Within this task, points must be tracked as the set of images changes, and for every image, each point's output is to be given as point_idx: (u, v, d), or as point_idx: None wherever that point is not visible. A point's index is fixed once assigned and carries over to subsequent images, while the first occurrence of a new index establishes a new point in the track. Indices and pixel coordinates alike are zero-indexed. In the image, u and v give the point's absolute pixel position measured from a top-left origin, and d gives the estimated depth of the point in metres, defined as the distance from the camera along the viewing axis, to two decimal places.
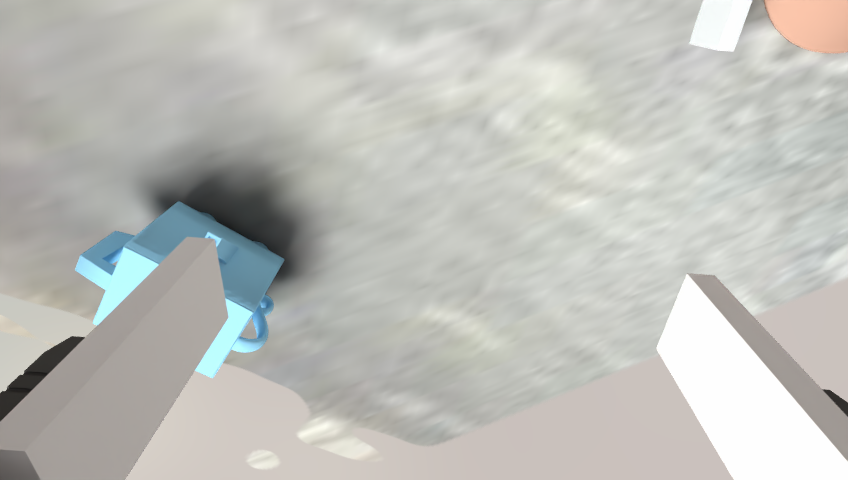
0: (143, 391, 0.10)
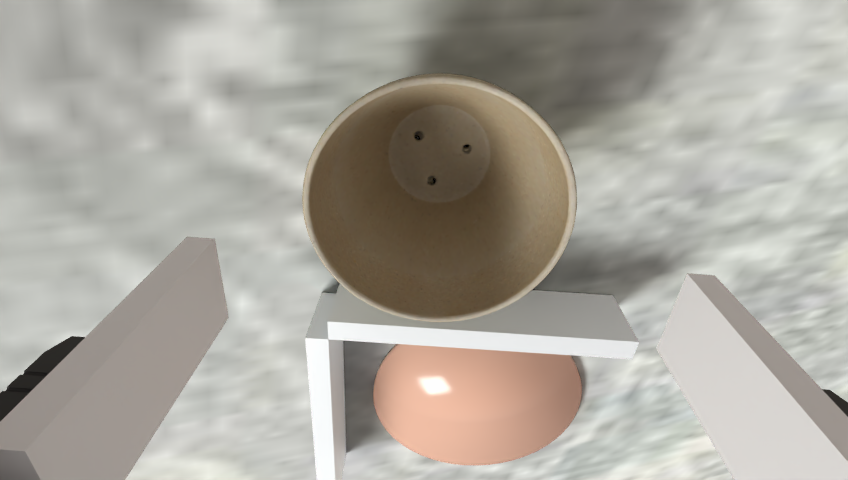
0: (143, 390, 0.10)
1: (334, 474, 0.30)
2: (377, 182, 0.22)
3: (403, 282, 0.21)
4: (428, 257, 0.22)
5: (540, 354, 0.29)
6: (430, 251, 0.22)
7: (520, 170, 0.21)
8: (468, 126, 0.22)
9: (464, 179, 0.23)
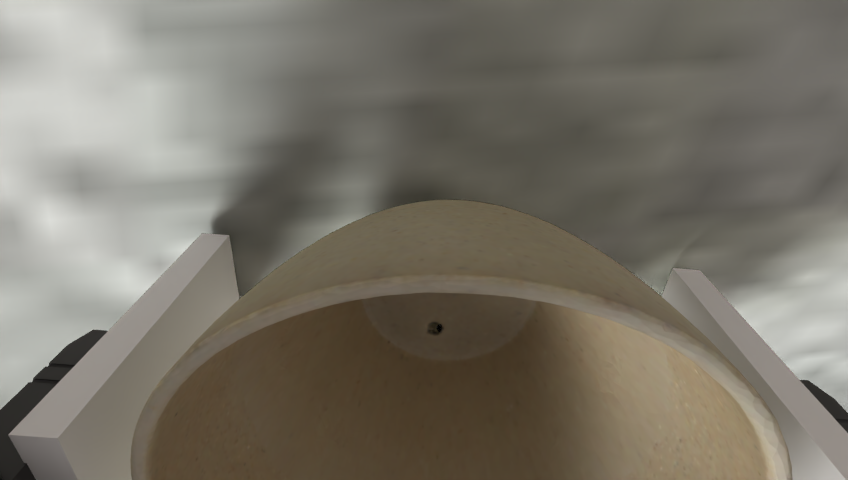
0: None
1: None
2: (340, 343, 0.13)
3: None
4: None
5: None
6: (432, 467, 0.13)
7: (601, 348, 0.11)
8: None
9: (490, 327, 0.14)
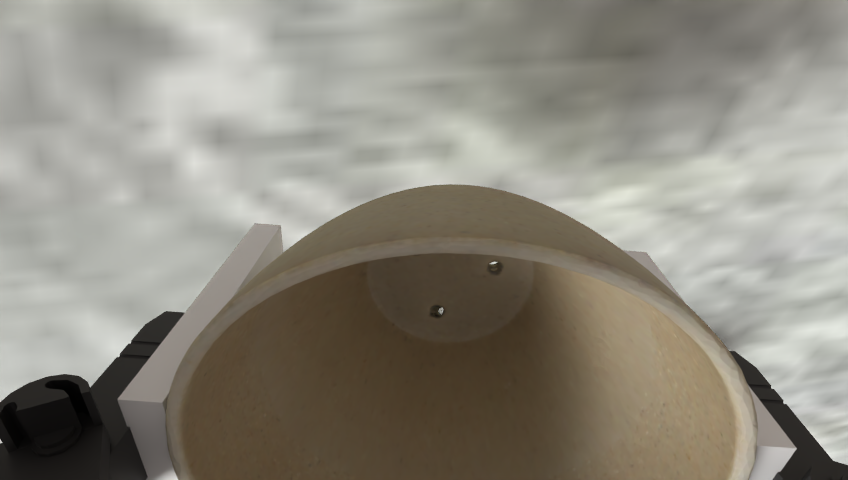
0: None
1: None
2: (348, 324, 0.14)
3: None
4: (431, 454, 0.13)
5: None
6: (434, 440, 0.13)
7: (592, 325, 0.12)
8: None
9: (490, 310, 0.14)
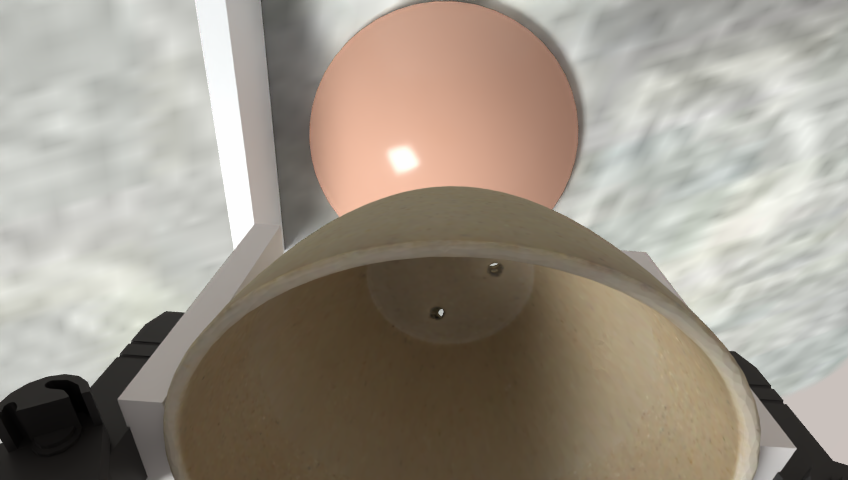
0: None
1: None
2: (347, 326, 0.13)
3: None
4: (431, 456, 0.13)
5: (523, 66, 0.22)
6: (434, 443, 0.13)
7: (593, 327, 0.12)
8: None
9: (490, 312, 0.14)
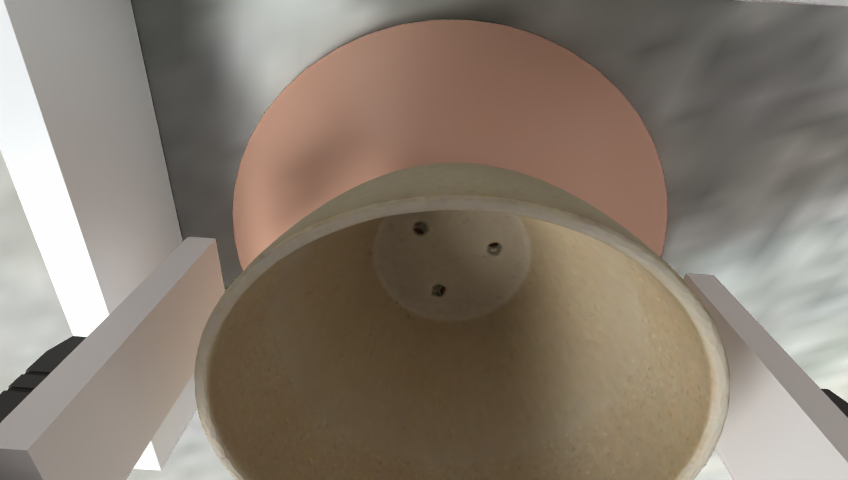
0: (144, 390, 0.10)
1: None
2: (354, 299, 0.14)
3: (389, 478, 0.13)
4: (431, 422, 0.14)
5: (583, 128, 0.13)
6: (435, 410, 0.14)
7: (585, 300, 0.13)
8: (499, 218, 0.14)
9: (489, 290, 0.15)
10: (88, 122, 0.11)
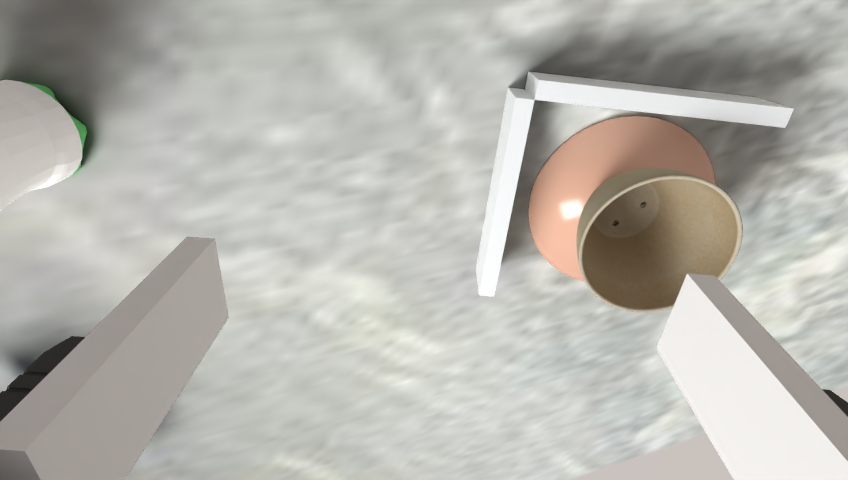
0: (143, 391, 0.10)
1: (501, 257, 0.34)
2: None
3: (610, 287, 0.33)
4: (619, 273, 0.34)
5: (684, 157, 0.34)
6: (619, 269, 0.35)
7: (685, 222, 0.33)
8: (647, 191, 0.35)
9: (637, 223, 0.36)
10: None
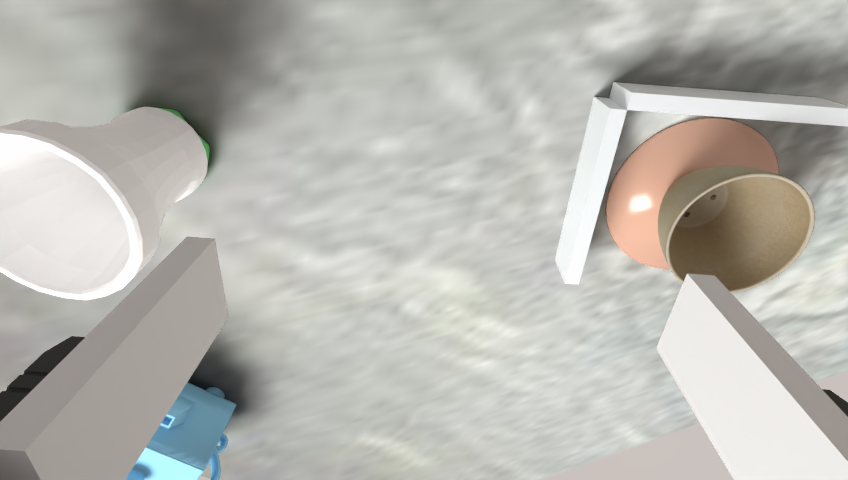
0: (143, 391, 0.10)
1: (587, 249, 0.38)
2: None
3: (688, 272, 0.37)
4: (693, 259, 0.38)
5: (752, 153, 0.38)
6: (693, 256, 0.39)
7: (755, 212, 0.37)
8: None
9: (706, 214, 0.40)
10: None
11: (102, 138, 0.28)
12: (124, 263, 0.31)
